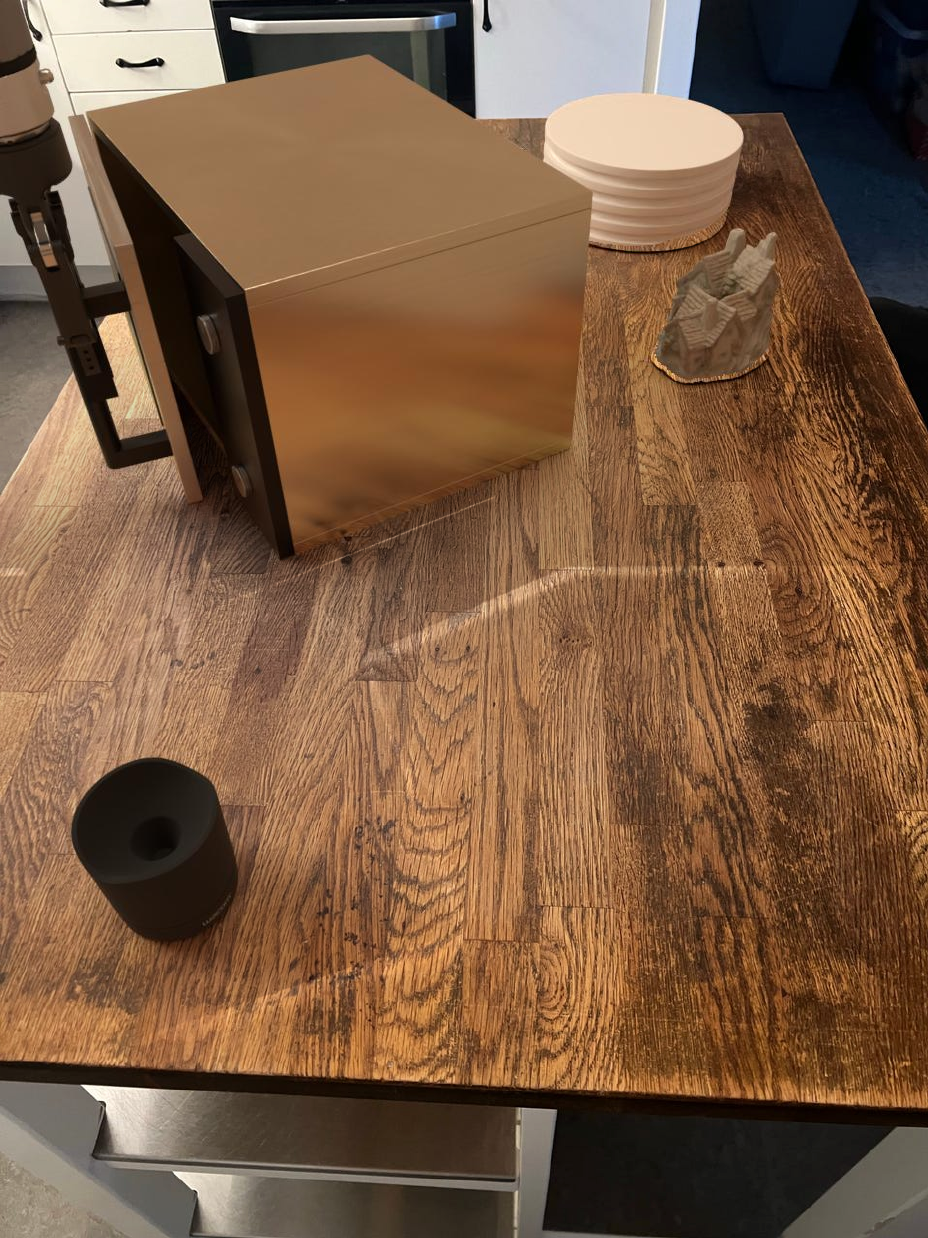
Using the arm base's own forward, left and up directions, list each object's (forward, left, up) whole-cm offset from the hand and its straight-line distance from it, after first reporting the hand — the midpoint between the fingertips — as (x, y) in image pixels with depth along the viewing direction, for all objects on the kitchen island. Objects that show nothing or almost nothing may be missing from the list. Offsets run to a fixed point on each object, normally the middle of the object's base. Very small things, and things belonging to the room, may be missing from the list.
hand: (101, 387), depth 90 cm
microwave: (+16, +21, -14) cm, 30 cm away
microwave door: (-5, +12, -14) cm, 19 cm away
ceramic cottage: (+58, +39, -14) cm, 71 cm away
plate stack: (+48, +76, -14) cm, 91 cm away
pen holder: (+20, -41, -14) cm, 48 cm away
